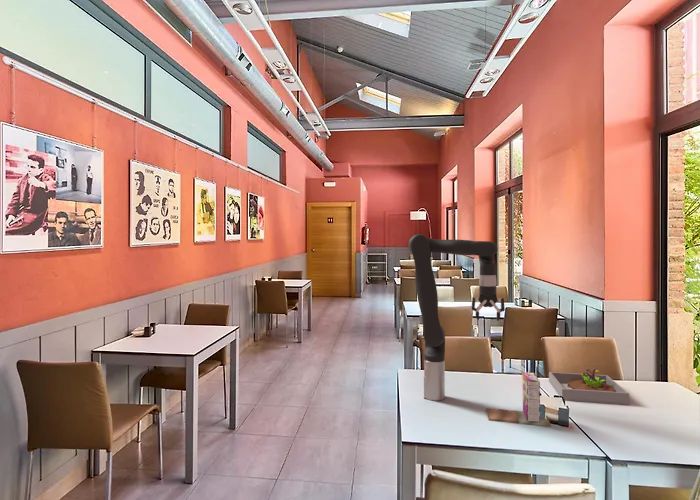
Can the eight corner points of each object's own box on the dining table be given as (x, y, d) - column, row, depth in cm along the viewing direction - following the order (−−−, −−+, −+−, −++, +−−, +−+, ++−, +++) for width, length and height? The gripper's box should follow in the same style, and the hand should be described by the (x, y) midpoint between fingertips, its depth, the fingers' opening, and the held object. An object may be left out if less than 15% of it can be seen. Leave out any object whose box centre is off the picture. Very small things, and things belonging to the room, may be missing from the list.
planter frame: (562, 400, 192) (562, 389, 192) (548, 381, 218) (548, 371, 218) (629, 404, 185) (629, 393, 185) (607, 385, 211) (607, 375, 211)
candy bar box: (521, 410, 176) (521, 371, 176) (534, 411, 175) (534, 372, 175) (526, 421, 166) (526, 380, 165) (540, 422, 164) (540, 380, 164)
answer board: (488, 420, 169) (488, 416, 169) (486, 410, 180) (486, 406, 180) (550, 426, 164) (550, 421, 164) (544, 415, 174) (544, 410, 174)
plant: (590, 399, 193) (590, 375, 193) (561, 385, 212) (561, 363, 212) (627, 396, 197) (627, 372, 197) (595, 383, 216) (595, 361, 216)
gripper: (472, 285, 192) (472, 321, 192) (505, 285, 188) (505, 322, 188) (471, 283, 199) (471, 318, 199) (503, 284, 195) (503, 319, 196)
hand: (487, 320), depth 194 cm, fingers open, 8 cm apart
